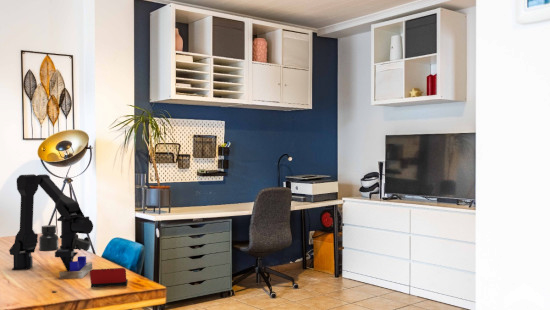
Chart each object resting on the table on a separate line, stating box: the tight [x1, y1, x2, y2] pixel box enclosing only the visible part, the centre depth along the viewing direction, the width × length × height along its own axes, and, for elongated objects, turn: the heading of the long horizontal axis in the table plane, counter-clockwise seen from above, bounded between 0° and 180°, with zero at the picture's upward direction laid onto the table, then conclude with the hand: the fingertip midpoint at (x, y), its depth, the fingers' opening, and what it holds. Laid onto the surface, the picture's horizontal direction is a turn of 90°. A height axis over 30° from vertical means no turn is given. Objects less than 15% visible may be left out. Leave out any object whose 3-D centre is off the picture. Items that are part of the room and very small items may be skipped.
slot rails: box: [58, 261, 93, 280], centre depth 224 cm, size 8×19×2 cm, turn 7°
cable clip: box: [70, 255, 87, 271], centre depth 223 cm, size 12×4×6 cm, turn 4°
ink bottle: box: [38, 224, 59, 252], centre depth 281 cm, size 10×9×12 cm
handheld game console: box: [89, 267, 129, 288], centre depth 204 cm, size 12×11×7 cm
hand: (68, 271), depth 224 cm, fingers closed, pressing on cable clip
